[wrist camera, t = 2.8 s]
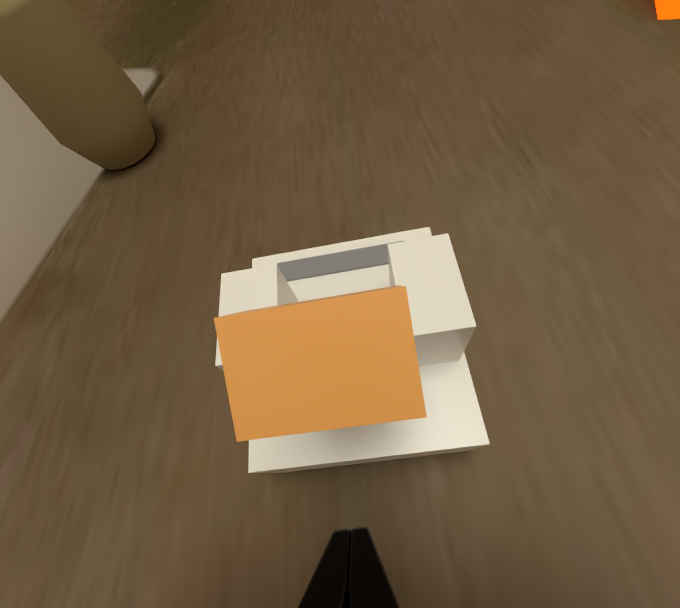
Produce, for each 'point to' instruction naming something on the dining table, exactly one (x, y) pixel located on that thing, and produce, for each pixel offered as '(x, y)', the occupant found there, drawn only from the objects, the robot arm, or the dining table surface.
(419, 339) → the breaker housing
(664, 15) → the orange juice
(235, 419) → the lever
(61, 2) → the squeeze bottle
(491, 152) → the dining table surface
